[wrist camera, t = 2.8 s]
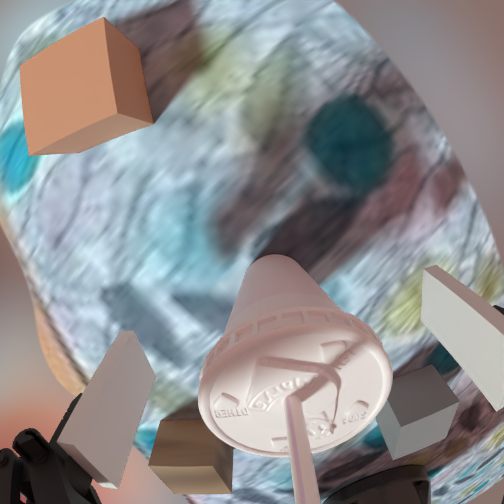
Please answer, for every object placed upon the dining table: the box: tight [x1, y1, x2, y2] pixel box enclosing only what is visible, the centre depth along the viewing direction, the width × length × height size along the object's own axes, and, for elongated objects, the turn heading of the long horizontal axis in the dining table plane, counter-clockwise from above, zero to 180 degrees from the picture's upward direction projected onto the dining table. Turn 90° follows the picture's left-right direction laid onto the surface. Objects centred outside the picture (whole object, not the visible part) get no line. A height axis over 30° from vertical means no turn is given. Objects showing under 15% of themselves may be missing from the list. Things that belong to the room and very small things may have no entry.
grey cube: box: [376, 364, 460, 460], centre depth 19 cm, size 5×5×5 cm
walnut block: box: [148, 418, 233, 494], centre depth 20 cm, size 5×5×5 cm
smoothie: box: [198, 254, 393, 504], centre depth 11 cm, size 6×6×14 cm
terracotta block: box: [20, 17, 154, 156], centre depth 12 cm, size 5×5×5 cm
